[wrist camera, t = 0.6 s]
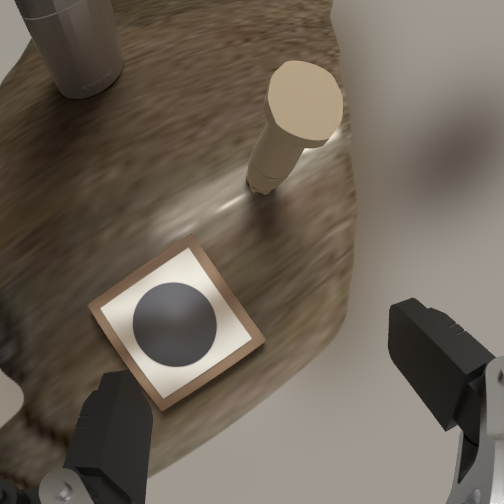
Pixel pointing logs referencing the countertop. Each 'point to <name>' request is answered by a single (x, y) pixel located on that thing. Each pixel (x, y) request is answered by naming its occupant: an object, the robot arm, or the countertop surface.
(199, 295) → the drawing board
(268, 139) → the handle
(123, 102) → the countertop surface
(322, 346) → the countertop surface
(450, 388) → the robot arm
